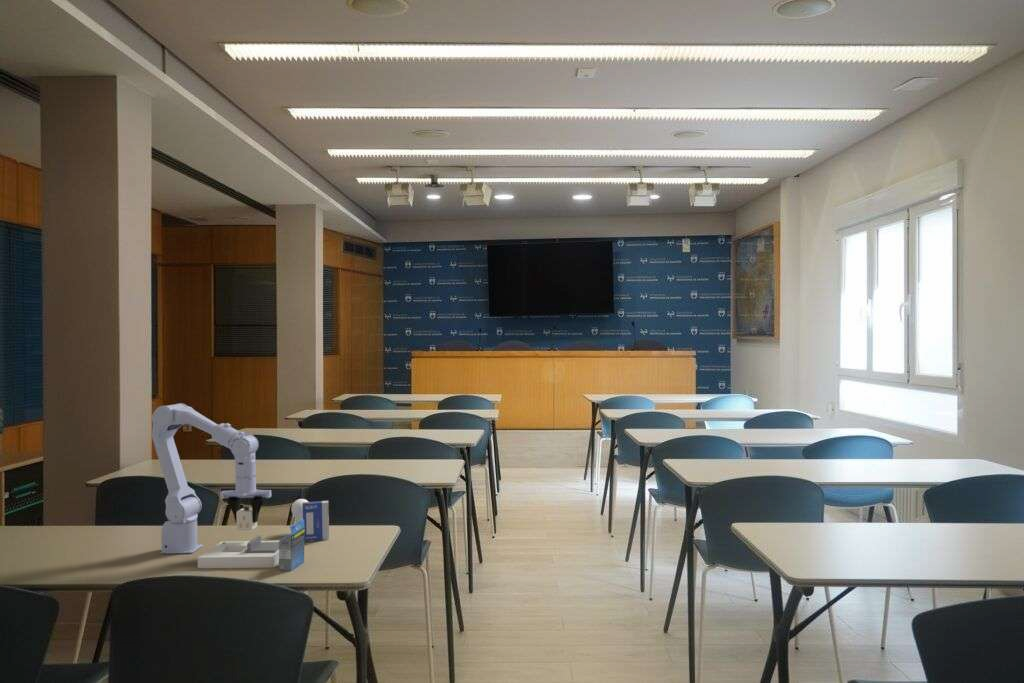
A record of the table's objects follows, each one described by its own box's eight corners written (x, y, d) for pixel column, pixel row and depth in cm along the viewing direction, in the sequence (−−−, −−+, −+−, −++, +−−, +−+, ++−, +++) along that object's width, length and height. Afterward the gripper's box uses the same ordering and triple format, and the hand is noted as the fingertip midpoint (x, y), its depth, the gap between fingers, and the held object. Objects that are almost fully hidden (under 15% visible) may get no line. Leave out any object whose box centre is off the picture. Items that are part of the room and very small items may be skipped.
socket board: (197, 568, 205) (197, 556, 205) (221, 551, 221) (221, 540, 221) (273, 567, 205) (272, 555, 205) (291, 550, 221) (291, 539, 221)
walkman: (303, 541, 230) (302, 503, 230) (303, 539, 233) (302, 501, 233) (329, 539, 232) (328, 501, 232) (329, 537, 235) (328, 499, 235)
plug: (236, 530, 218) (236, 508, 218) (242, 526, 223) (241, 505, 223) (251, 530, 218) (251, 508, 218) (257, 526, 223) (256, 504, 223)
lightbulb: (305, 535, 237) (305, 501, 237) (288, 535, 238) (287, 500, 238) (314, 530, 243) (314, 497, 243) (297, 530, 244) (296, 496, 244)
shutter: (245, 552, 209) (244, 543, 208) (256, 544, 217) (255, 535, 217) (275, 552, 208) (274, 543, 208) (284, 543, 217) (284, 535, 217)
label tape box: (292, 561, 210) (291, 518, 210) (305, 561, 210) (304, 518, 210) (278, 571, 201) (277, 525, 201) (292, 571, 201) (291, 526, 201)
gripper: (215, 479, 216) (216, 525, 216) (265, 478, 216) (266, 525, 216) (225, 474, 223) (226, 519, 223) (273, 474, 223) (274, 519, 223)
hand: (246, 522), depth 220 cm, fingers closed on plug, 4 cm apart
